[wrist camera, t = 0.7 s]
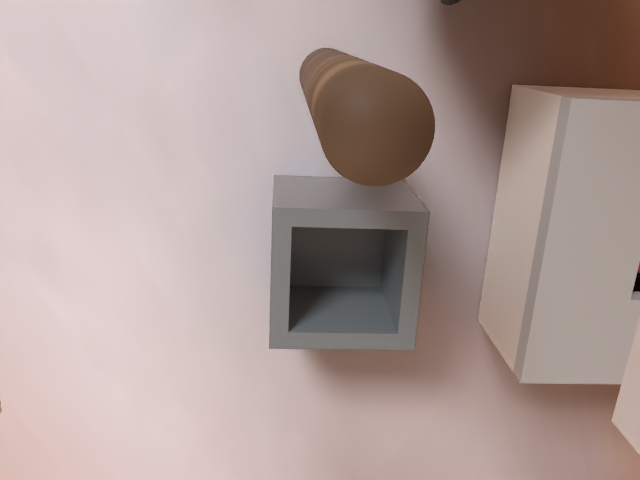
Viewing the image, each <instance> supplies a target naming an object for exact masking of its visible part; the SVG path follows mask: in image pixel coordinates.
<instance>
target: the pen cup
mask: <svg viewBox="0 0 640 480" xmlns="http://www.w3.org/2000/svg"><path fill="white" fill-rule="evenodd" d="M428 221H429V211H428V209H427V208H426V207H425V206H424V204H423V203H422V202H421V201H420V199H419V198H418V197H417V196H416V194H415V193H414V192H413V191H412V190H411V188H410V187H409V186H408V185H407V183H406V182H405V181H404V180H400V181H398V182H396V183H393V184H389V185H384V186H365V185H361V184H357V183H355V182H352V181H350V180H348V179H346V178H337V177H307V176H276V175H274V188H273V206H272V248H271V293H270V338H269V349H344V350H414V347H415V338H416V329H417V320H418V311H419V302H420V293H421V284H422V275H423V266H424V257H425V248H426V239H427V230H428Z"/></svg>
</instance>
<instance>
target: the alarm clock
mask: <svg viewBox="0 0 640 480" xmlns="http://www.w3.org/2000/svg"><path fill="white" fill-rule="evenodd" d="M440 1H441V2H442V3H443V4H446V5H451V4H454V3H457V2H459V1H461V0H440Z"/></svg>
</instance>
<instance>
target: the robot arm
mask: <svg viewBox="0 0 640 480" xmlns="http://www.w3.org/2000/svg"><path fill="white" fill-rule="evenodd" d="M1 411H2V410H1V402H0V413H1ZM612 422H613V424H614V425H615V426H616V427H617V428H618V430H619V431H620V432H621V433H622V435H623V436H624V437H625V438H626V439H627V441H628V442H629V443H630V444H631V446H632V447H633V448H634V449H635V450H636V452H637V453H638V454H639V455H640V318H639V322H638V325H637V329H636V333H635V336H634V340H633V344H632V347H631V351H630V355H629V358H628V362H627V366H626V369H625V373H624V377H623V380H622V384H621V388H620V391H619V395H618V399H617V402H616V406H615V410H614V413H613V417H612Z"/></svg>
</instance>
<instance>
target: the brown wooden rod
mask: <svg viewBox="0 0 640 480" xmlns="http://www.w3.org/2000/svg"><path fill="white" fill-rule="evenodd" d="M300 83H301V86H302V89H303V92H304V95H305V98H306V101H307V104H308V107H309V110H310V113H311V116H312V119H313V122H314V125H315V128H316V131H317V134H318V137H319V140H320V142H321V145H322V148H323V151H324V153H325V156H326V158H327V159H328V161H329V163H330V164H331V165H332V166H333V168H334V169H335V170H336V171H337V172H338V173H339V174H341V175H342V176H343V177H345V178H346V179H348V180H350V181H352V182H355V183H357V184H361V185H365V186H384V185H389V184H393V183H396V182H398V181H400V180H402V179H404V178H406V177H407V176H409V175H410V174H411V173H413V172H414V171H415V170H416V169H417V168H418V167H419V166H420V165H421V163H422V162H423V161H424V159H425V158H426V156H427V155H428V153H429V150H430V148H431V145H432V142H433V138H434V133H435V119H434V113H433V109H432V106H431V104H430V101H429V99H428V98H427V96H426V94H425V93H424V91H423V90H422V89H421V88H420V87H419V86H418V85H417V84H416V83H415V82H414V81H412V80H411V79H409V78H408V77H406V76H404V75H402V74H399V73H397V72H394V71H392V70H389V69H386V68H384V67H381V66H378V65H375V64H373V63H370V62H367V61H365V60H362V59H359V58H357V57H354V56H351V55H349V54H346V53H343V52H340V51H338V50H335V49H331V48H322V49H318V50H316V51H314V52H312V53H311V54H309V55H308V56H307V57H306V59H305V60H304V61H303V63H302V66H301V69H300Z"/></svg>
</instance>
